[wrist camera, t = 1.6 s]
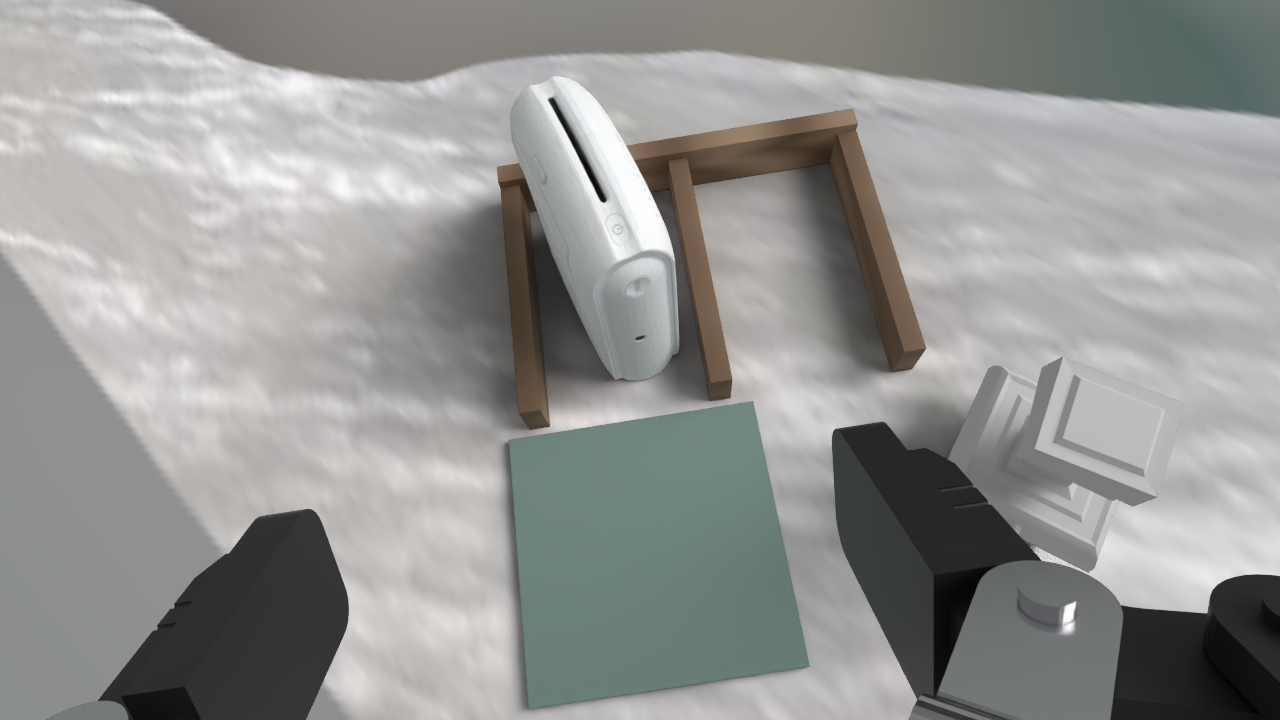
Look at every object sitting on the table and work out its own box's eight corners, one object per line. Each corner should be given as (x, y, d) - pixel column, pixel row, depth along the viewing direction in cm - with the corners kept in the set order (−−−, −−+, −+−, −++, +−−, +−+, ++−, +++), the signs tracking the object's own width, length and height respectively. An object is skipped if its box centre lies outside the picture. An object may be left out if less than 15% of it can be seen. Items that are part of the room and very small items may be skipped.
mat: (752, 403, 37) (753, 401, 36) (808, 666, 32) (809, 666, 31) (510, 442, 37) (508, 439, 36) (530, 709, 32) (528, 709, 32)
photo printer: (692, 363, 38) (688, 228, 26) (614, 397, 37) (576, 276, 26) (613, 209, 42) (579, 34, 30) (541, 238, 41) (481, 72, 30)
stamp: (977, 366, 36) (1052, 283, 29) (1117, 428, 35) (1237, 358, 27) (906, 529, 34) (967, 486, 26) (1054, 605, 32) (1166, 584, 24)
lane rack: (843, 145, 42) (852, 108, 39) (912, 368, 37) (929, 344, 34) (510, 200, 42) (497, 166, 40) (530, 429, 37) (516, 409, 34)
